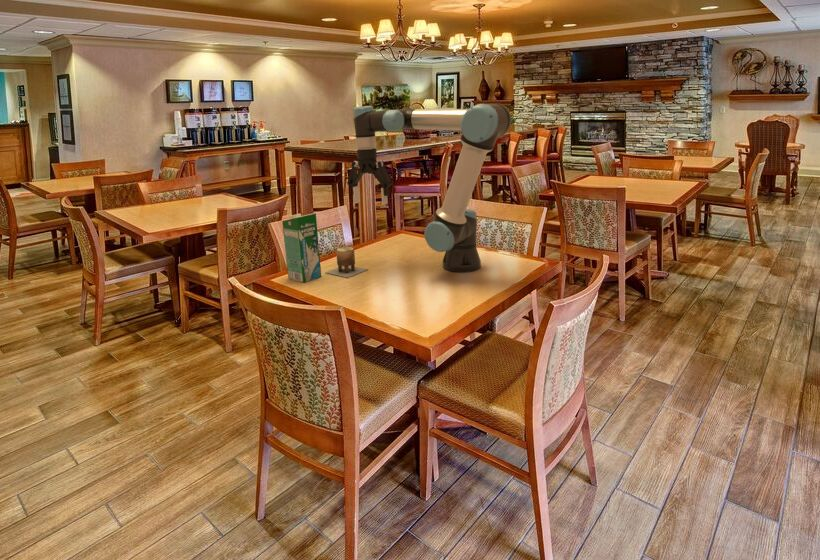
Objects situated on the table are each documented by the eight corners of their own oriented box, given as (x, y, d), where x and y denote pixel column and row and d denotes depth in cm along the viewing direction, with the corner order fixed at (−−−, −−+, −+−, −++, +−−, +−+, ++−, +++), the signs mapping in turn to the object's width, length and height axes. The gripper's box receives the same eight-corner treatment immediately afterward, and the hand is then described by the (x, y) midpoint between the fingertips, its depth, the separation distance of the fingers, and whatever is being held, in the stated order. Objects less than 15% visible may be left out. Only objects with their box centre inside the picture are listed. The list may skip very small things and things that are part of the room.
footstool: (347, 274, 218) (345, 252, 215) (334, 271, 222) (332, 249, 219) (359, 269, 223) (357, 248, 220) (346, 267, 227) (344, 245, 224)
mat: (368, 270, 224) (368, 269, 224) (347, 278, 214) (347, 277, 214) (345, 265, 230) (345, 264, 230) (325, 273, 221) (325, 272, 221)
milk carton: (306, 272, 223) (300, 210, 215) (321, 276, 217) (316, 212, 210) (288, 278, 216) (281, 214, 208) (303, 283, 211) (297, 217, 203)
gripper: (398, 147, 211) (402, 203, 217) (347, 147, 224) (352, 200, 231) (387, 149, 205) (391, 206, 211) (335, 149, 218) (340, 203, 225)
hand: (370, 203), depth 221 cm, fingers open, 13 cm apart
